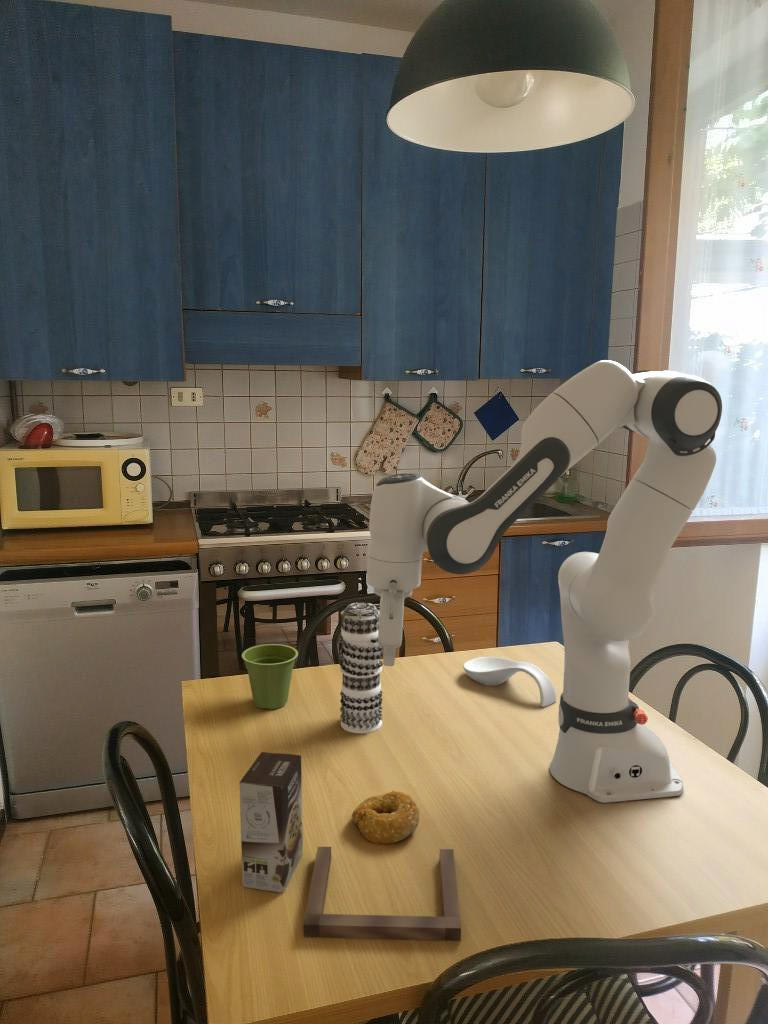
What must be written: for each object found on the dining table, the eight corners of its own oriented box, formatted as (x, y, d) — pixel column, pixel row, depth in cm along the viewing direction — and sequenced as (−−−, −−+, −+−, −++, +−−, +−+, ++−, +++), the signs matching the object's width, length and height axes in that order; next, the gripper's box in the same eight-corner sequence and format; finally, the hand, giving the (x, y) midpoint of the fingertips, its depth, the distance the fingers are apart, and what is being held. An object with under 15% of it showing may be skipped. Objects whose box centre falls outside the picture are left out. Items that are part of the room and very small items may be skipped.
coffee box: (285, 894, 105) (282, 787, 102) (241, 887, 106) (237, 782, 103) (305, 853, 114) (303, 753, 111) (264, 848, 115) (261, 749, 112)
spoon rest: (452, 679, 178) (453, 649, 176) (486, 666, 185) (487, 638, 184) (533, 714, 160) (535, 681, 159) (567, 698, 168) (569, 667, 166)
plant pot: (276, 720, 157) (274, 668, 154) (231, 707, 162) (229, 657, 160) (309, 698, 167) (308, 649, 164) (266, 687, 172) (265, 639, 170)
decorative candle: (374, 710, 161) (374, 596, 156) (390, 729, 153) (391, 610, 148) (333, 717, 158) (331, 601, 153) (347, 737, 149) (346, 615, 144)
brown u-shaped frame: (453, 860, 112) (453, 849, 112) (460, 940, 97) (461, 928, 96) (317, 857, 113) (317, 846, 113) (303, 937, 97) (303, 924, 97)
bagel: (372, 801, 128) (372, 775, 127) (430, 822, 122) (431, 795, 121) (338, 832, 119) (338, 805, 118) (399, 856, 114) (400, 828, 113)
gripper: (413, 593, 114) (408, 680, 116) (413, 558, 134) (408, 633, 136) (371, 590, 114) (367, 677, 116) (377, 556, 134) (373, 631, 137)
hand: (389, 653), depth 127 cm, fingers open, 8 cm apart
